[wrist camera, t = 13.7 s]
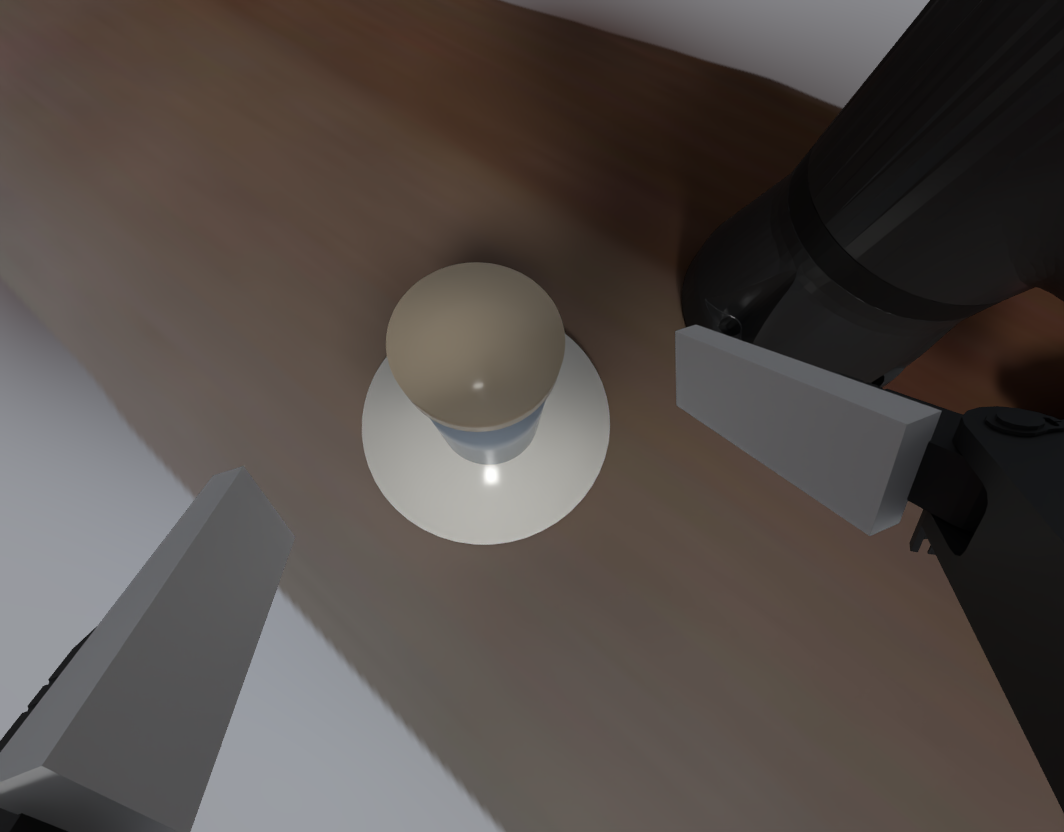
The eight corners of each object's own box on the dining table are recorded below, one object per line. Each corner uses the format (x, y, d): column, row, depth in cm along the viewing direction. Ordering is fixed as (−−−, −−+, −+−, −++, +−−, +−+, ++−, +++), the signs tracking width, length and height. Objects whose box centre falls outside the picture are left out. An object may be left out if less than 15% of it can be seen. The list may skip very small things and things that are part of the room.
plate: (428, 287, 27) (425, 278, 26) (632, 358, 26) (636, 351, 25) (322, 491, 22) (314, 489, 22) (564, 582, 22) (566, 584, 21)
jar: (509, 350, 25) (509, 238, 15) (561, 434, 23) (598, 369, 14) (418, 397, 23) (355, 306, 14) (468, 488, 22) (437, 458, 13)
